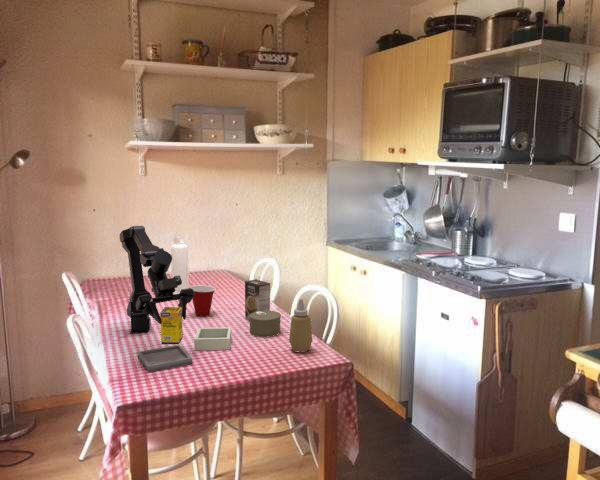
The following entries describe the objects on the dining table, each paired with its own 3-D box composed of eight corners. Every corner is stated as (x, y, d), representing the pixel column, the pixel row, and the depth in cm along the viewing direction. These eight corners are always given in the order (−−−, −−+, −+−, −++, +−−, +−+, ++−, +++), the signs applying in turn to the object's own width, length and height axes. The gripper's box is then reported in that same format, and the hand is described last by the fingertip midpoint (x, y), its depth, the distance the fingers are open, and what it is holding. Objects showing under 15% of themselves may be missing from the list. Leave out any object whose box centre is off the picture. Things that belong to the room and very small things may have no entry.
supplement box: (179, 344, 167) (178, 312, 166) (160, 344, 167) (159, 312, 165) (183, 338, 173) (182, 306, 171) (165, 338, 173) (164, 306, 171)
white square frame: (194, 350, 179) (194, 339, 178) (198, 338, 190) (198, 328, 190) (229, 349, 180) (229, 338, 179) (231, 337, 191) (231, 327, 191)
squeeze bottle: (292, 355, 175) (292, 303, 172) (286, 347, 182) (286, 297, 179) (315, 352, 177) (315, 301, 174) (308, 344, 184) (308, 295, 182)
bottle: (180, 295, 251) (179, 238, 246) (168, 293, 255) (166, 237, 251) (192, 292, 257) (191, 236, 253) (180, 289, 262) (178, 235, 257)
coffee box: (244, 319, 214) (244, 281, 211) (256, 316, 218) (256, 278, 216) (258, 324, 207) (258, 285, 205) (270, 320, 212) (270, 282, 209)
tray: (138, 357, 172) (137, 351, 172) (179, 350, 179) (179, 344, 178) (148, 372, 160) (148, 366, 160) (192, 363, 167) (192, 358, 166)
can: (260, 339, 190) (259, 321, 189) (243, 331, 199) (243, 313, 198) (286, 333, 197) (286, 316, 196) (269, 325, 206) (269, 308, 205)
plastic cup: (217, 317, 216) (217, 289, 214) (191, 319, 213) (190, 291, 211) (214, 310, 226) (214, 283, 225) (189, 312, 224) (188, 285, 222)
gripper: (137, 271, 164) (150, 313, 157) (191, 264, 175) (206, 304, 168) (130, 290, 172) (142, 331, 165) (183, 282, 182) (197, 321, 175)
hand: (173, 321), depth 168 cm, fingers closed on supplement box, 8 cm apart
